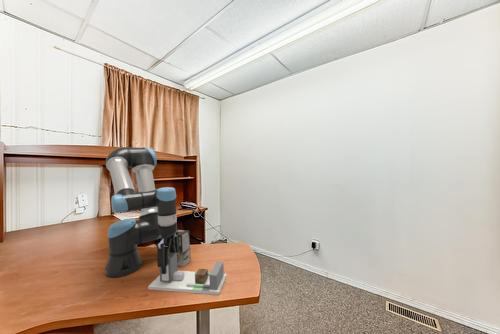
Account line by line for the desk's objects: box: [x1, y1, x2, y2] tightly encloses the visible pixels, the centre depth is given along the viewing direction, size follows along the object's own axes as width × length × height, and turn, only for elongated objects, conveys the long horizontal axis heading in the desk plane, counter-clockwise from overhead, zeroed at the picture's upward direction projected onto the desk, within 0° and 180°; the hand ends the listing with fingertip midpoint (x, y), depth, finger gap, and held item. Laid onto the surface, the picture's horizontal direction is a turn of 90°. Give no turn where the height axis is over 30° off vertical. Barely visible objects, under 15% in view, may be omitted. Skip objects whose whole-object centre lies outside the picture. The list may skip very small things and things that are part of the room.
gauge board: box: [148, 261, 227, 296], centre depth 85 cm, size 30×12×7 cm, turn 82°
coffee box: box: [169, 228, 192, 268], centre depth 101 cm, size 9×6×16 cm
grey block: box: [159, 252, 184, 282], centre depth 85 cm, size 9×6×10 cm, turn 82°
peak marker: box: [195, 268, 209, 284], centre depth 84 cm, size 4×4×4 cm
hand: (169, 275), depth 86 cm, fingers closed on grey block, 6 cm apart
